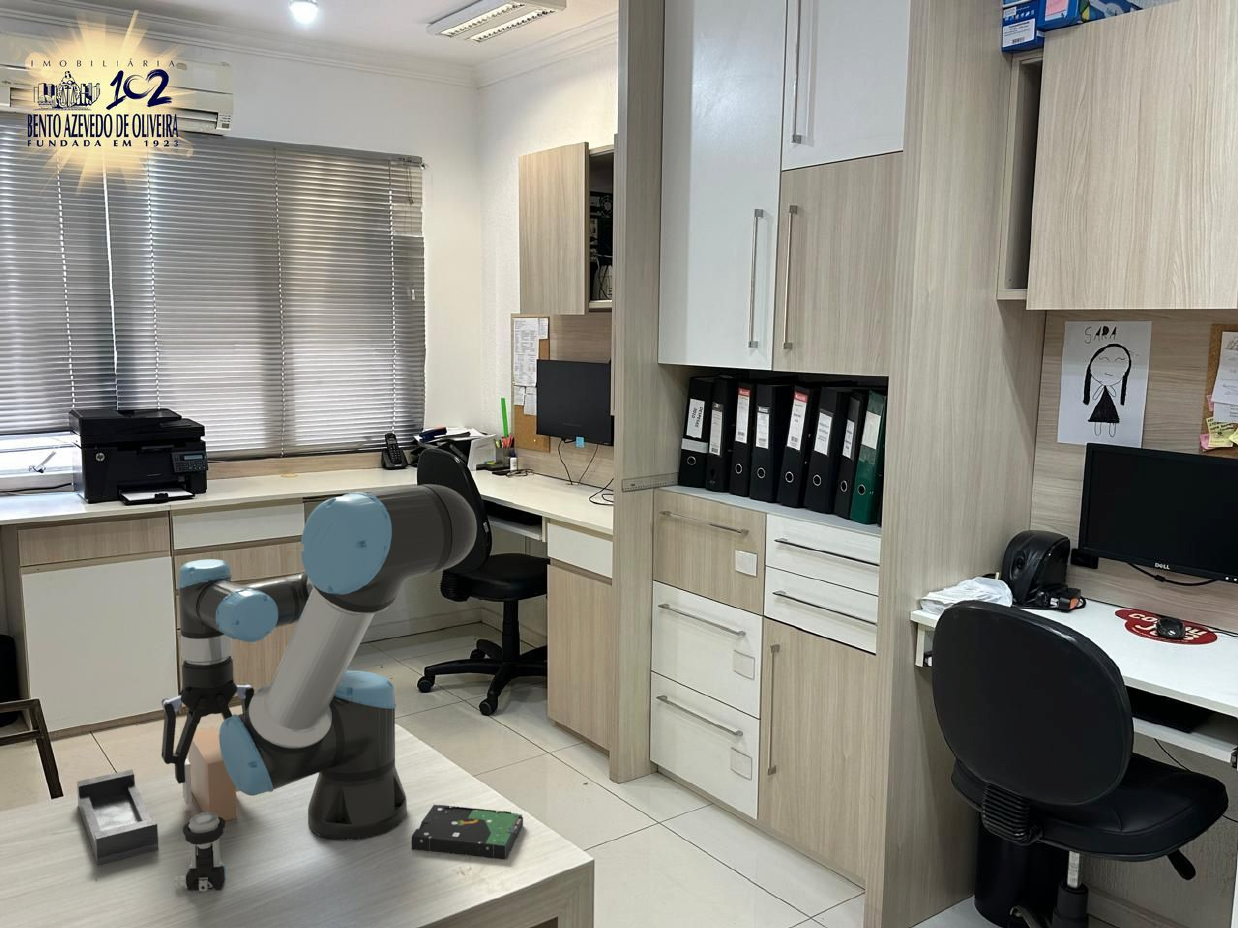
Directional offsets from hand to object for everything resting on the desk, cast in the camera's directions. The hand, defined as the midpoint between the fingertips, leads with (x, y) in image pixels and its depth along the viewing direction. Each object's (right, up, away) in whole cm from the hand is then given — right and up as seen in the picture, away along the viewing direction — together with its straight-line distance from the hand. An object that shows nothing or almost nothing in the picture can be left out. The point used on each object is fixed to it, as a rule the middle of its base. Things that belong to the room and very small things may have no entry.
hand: (212, 793), depth 158 cm
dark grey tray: (-11, -2, -8) cm, 14 cm away
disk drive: (+43, -5, -8) cm, 44 cm away
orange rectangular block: (0, -2, 0) cm, 2 cm away
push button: (+8, -5, -23) cm, 25 cm away
